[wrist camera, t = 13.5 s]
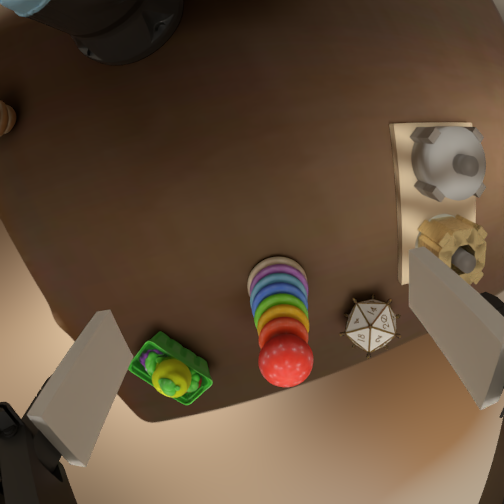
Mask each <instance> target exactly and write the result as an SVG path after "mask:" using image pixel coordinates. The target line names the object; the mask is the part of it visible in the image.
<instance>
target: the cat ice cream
mask: <svg viewBox="0 0 504 504" xmlns="http://www.w3.org/2000/svg"><path fill="white" fill-rule="evenodd" d="M15 122H16V113H15V111H14V109H13V108H12V107H11V106H9V105H6V104H5V103H4V102H3V101H1V100H0V137H1V136H2V135H3V134H6V133H8V132H9V131H10V130H11V129H12V128H13V126H14V124H15Z"/></svg>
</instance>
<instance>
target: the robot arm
mask: <svg viewBox="0 0 504 504" xmlns="http://www.w3.org/2000/svg"><path fill="white" fill-rule="evenodd" d="M0 4H1V5H3V6H4V7H7V8H9V9H11V10H13V11H14V12H15V13H16V14H18V15H19V16H22V17H27V18H30V19H32V20H35V21H38V22H41V23H43V24H46V25H48V26H51V27H54V28H56V29H59V30H61V31H64V32H66V33H69V34H70V35H71V37H72V39H73V40H74V42H75V44H76V45H77V47H78V48H79V50H80V51H81V52H82V53H83V54H84V55H86V56H87V57H89V58H90V59H92V60H95V61H97V62H100V63H103V64H107V65H124V64H129V63H133V62H136V61H138V60H141V59H143V58H145V57H147V56H149V55H150V54H152V53H153V52H155V51H156V50H157V49H159V48H160V47H161V46H162V45H163V44H164V43H165V42H166V41H167V40H168V39H169V38H170V37H171V35H172V34H173V33H174V31H175V30H176V28H177V26H178V24H179V22H180V19H181V16H182V13H183V0H0ZM409 307H410V308H411V309H412V311H413V312H414V313H415V315H416V316H417V317H418V319H419V320H420V322H421V323H422V324H423V326H424V327H425V328H426V330H427V331H428V333H429V334H430V335H431V337H432V338H433V339H434V341H435V342H436V344H437V345H438V347H439V348H440V349H441V351H442V352H443V354H444V355H445V356H446V358H447V360H448V361H449V363H450V364H451V365H452V367H453V368H454V370H455V371H456V373H457V374H458V376H459V377H460V379H461V380H462V382H463V384H464V385H465V387H466V388H467V390H468V391H469V393H470V394H471V396H472V398H473V399H474V401H475V402H476V404H477V406H478V407H479V409H480V410H482V409H484V408H486V407H488V406H490V405H492V404H494V403H496V402H498V401H499V399H500V396H501V394H502V391H503V389H504V303H503V302H502V301H501V300H500V299H499V298H498V297H496V296H494V295H492V294H489V293H487V292H484V293H481V294H479V293H478V292H477V291H476V290H475V289H474V288H472V287H471V286H470V285H469V284H468V283H467V282H466V281H465V280H463V279H462V278H461V277H460V276H459V275H458V274H457V273H455V272H454V271H453V270H452V269H451V268H450V267H448V266H447V265H446V264H445V263H444V262H443V261H441V260H440V259H439V258H438V257H437V256H435V255H434V254H433V253H432V252H430V251H429V250H428V249H427V248H426V247H424V246H423V247H419V248H414V249H410V250H409ZM132 359H133V355H132V354H131V352H130V350H129V348H128V346H127V344H126V342H125V340H124V338H123V336H122V334H121V332H120V330H119V328H118V325H117V323H116V321H115V319H114V317H113V315H112V313H111V310H105V311H98V312H96V314H95V315H94V316H93V318H92V319H91V320H90V322H89V323H88V324H87V326H86V327H85V329H84V330H83V331H82V333H81V334H80V335H79V337H78V338H77V340H76V341H75V342H74V344H73V345H72V347H71V348H70V350H69V351H68V352H67V354H66V355H65V357H64V358H63V360H62V361H61V363H60V364H59V366H58V367H57V368H56V370H55V372H54V373H53V374H52V375H51V376H50V377H49V378H48V379H47V380H46V381H45V383H44V384H43V386H42V388H41V390H40V391H39V392H38V394H37V397H35V398H34V400H33V402H32V403H31V405H30V406H29V408H28V410H27V411H26V413H25V414H24V416H23V417H22V419H20V417H19V416H18V415H17V413H16V412H15V411H14V409H13V408H12V407H11V406H10V404H9V403H7V402H0V504H77V502H76V499H75V497H74V494H73V492H72V489H71V486H70V483H69V481H68V478H67V475H66V472H65V469H64V467H63V465H62V464H61V463H60V462H59V460H60V458H61V455H62V456H63V457H64V458H65V459H66V460H67V461H68V462H69V463H70V464H71V465H77V466H82V467H86V466H87V463H88V460H89V458H90V456H91V453H92V451H93V448H94V446H95V444H96V441H97V438H98V436H99V434H100V431H101V429H102V426H103V424H104V422H105V419H106V417H107V415H108V412H109V410H110V408H111V405H112V403H113V401H114V399H115V396H116V394H117V392H118V390H119V387H120V385H121V383H122V381H123V378H124V376H125V374H126V372H127V370H128V367H129V365H130V363H131V361H132ZM503 415H504V408H503V411H502V412H501V415H500V418H502V417H503V421H502V426H501V431H500V435H499V439H498V443H497V447H496V451H495V455H494V458H493V462H492V465H491V469H490V472H489V475H488V478H487V481H486V484H485V487H484V490H483V493H482V496H481V498H480V501H479V504H504V416H503Z"/></svg>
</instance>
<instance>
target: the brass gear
mask: <svg viewBox="0 0 504 504" xmlns="http://www.w3.org/2000/svg"><path fill="white" fill-rule="evenodd" d="M417 230H418V231H419V232H420V233H421V234H420V236H419V237H418V248H419V247H423V246H424V247H426V248H427V249H428V250H429V251H430V252H432V253H433V254H434V255H435V256H437V257H438V258H439V259H440V260H441V261H443V262H444V263H445V264H446V265H447V266H448V267H450V268H451V269H452V270H453V271H454V272H455V273H457V274H458V275H459V276H460V277H461V278H462V279H463V280H465V281H466V282H467V283H468V284H469V285H471V283H472V282H473V283H475V284H477V283H478V281H479V280H480V279H481V277H482V276H483V275H484V274H483V273H482V272H481V270H482V269H483V267H484V264H485V254H486V242H485V241H484V239H485V237H486V236H487V235H488V234H487V233H486V232H485V230H484V229H483V228H482V227H481V226H480V225H478V224H476V223H474V222H472V221H470V220H468V219H466V218H464V217H462V216H460V215H458V214H457V215H456V217H455V218H454V217H452V216H447V217H441V218H434V219H432V220H431V221H430V222H429V221H427V220H426V219H425V220H424V221H423V223H422V224H421V225H420V227H419V228H418V229H417ZM458 247H461V248H462V249H464V250H465V251H467V252H468V253H470V254H471V255H473V256H474V257H475V258H476V266H475V268H474V270H473V271H472V272H470V273H468V274H466V273H464V272H463V271H461V270H460V269H459V268H458V267H456V266H455V265H454V264H452V263H451V257H452V255H453V254H454V253H455V251H456V250H457V249H458Z"/></svg>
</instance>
